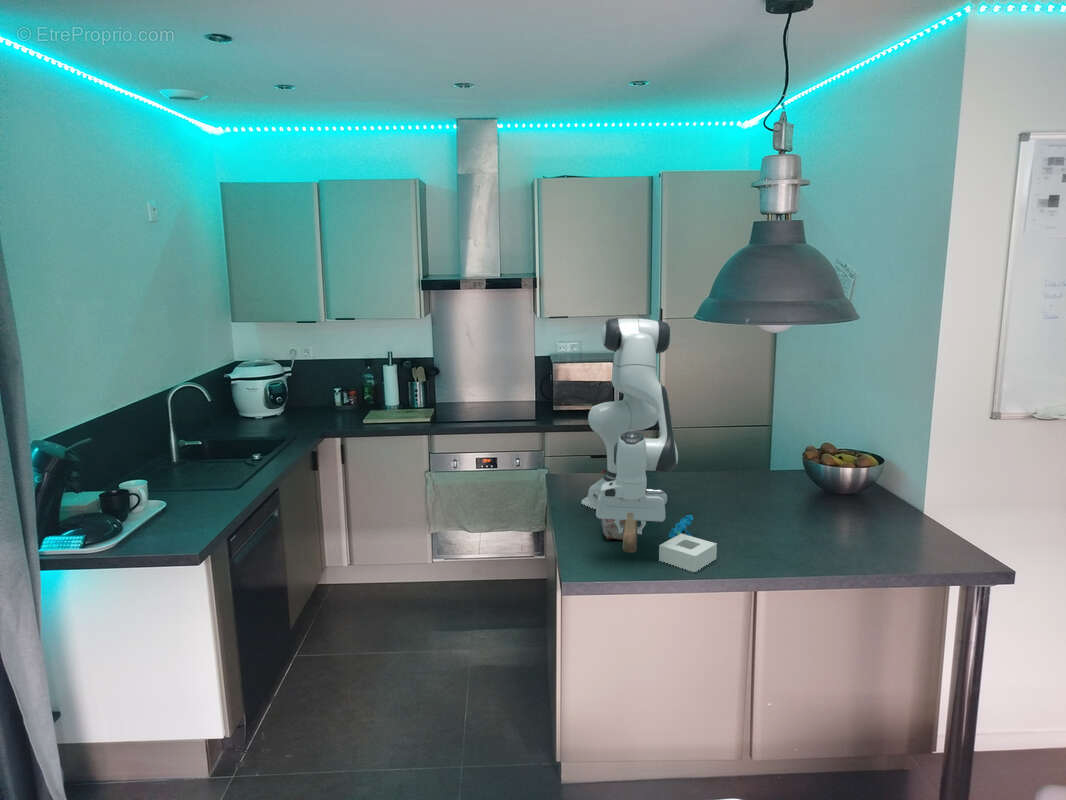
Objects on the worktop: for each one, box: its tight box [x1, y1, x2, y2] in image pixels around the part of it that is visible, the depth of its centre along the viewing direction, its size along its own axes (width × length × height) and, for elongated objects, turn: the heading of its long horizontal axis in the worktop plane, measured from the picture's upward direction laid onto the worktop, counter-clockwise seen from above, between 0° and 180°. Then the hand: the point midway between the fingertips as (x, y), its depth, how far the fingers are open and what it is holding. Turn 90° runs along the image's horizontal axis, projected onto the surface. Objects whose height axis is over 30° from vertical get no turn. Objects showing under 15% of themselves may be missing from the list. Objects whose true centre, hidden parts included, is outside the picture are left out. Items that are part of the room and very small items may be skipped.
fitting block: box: [658, 534, 718, 573], centre depth 210 cm, size 12×12×5 cm
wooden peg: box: [622, 513, 638, 553], centre depth 210 cm, size 4×4×12 cm
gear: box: [668, 513, 694, 540], centre depth 226 cm, size 11×6×10 cm
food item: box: [601, 519, 623, 541], centre depth 230 cm, size 14×8×10 cm, turn 2°
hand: (630, 533), depth 211 cm, fingers closed on wooden peg, 4 cm apart
